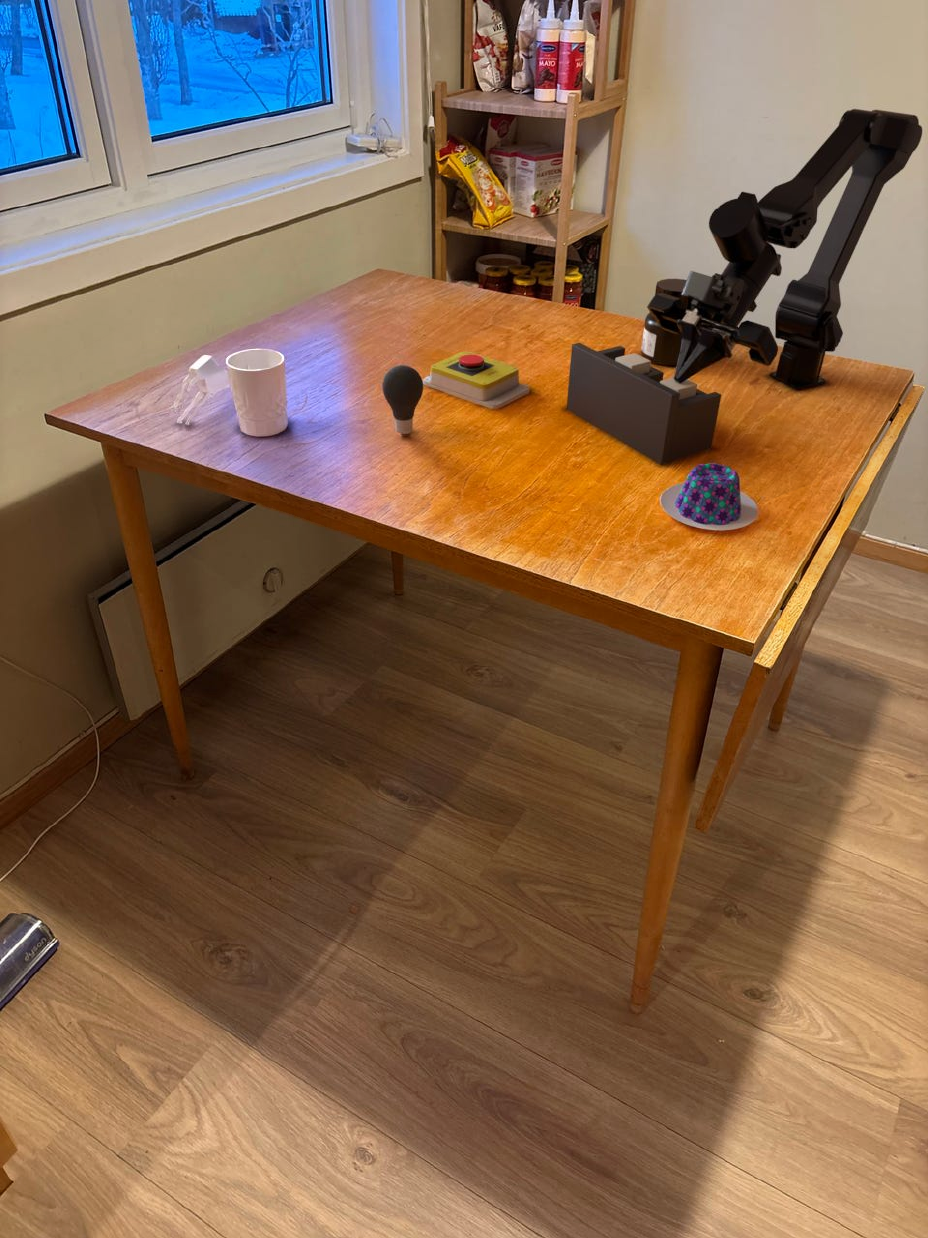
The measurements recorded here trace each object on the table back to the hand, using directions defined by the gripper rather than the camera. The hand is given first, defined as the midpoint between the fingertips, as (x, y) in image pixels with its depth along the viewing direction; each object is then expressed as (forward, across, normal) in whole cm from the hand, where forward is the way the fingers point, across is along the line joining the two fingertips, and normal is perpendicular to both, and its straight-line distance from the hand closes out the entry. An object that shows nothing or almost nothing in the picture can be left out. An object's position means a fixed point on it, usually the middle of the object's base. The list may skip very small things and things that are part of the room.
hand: (676, 381), depth 126 cm
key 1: (0, -9, +3) cm, 10 cm away
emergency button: (+13, -30, 0) cm, 33 cm away
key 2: (+1, 0, +2) cm, 2 cm away
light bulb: (+26, -25, -14) cm, 38 cm away
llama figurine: (+37, -51, -24) cm, 67 cm away
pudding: (+15, +16, -2) cm, 22 cm away
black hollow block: (+6, -5, +6) cm, 10 cm away
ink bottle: (-11, -20, +23) cm, 32 cm away
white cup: (+36, -39, -24) cm, 58 cm away
